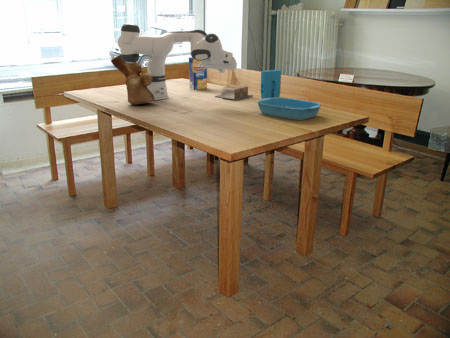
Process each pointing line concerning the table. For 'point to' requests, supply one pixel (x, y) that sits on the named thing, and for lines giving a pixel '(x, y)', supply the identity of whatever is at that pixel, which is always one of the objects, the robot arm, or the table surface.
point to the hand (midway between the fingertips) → (222, 71)
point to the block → (270, 83)
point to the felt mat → (236, 98)
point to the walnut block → (234, 91)
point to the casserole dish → (289, 108)
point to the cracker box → (197, 74)
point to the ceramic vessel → (135, 81)
